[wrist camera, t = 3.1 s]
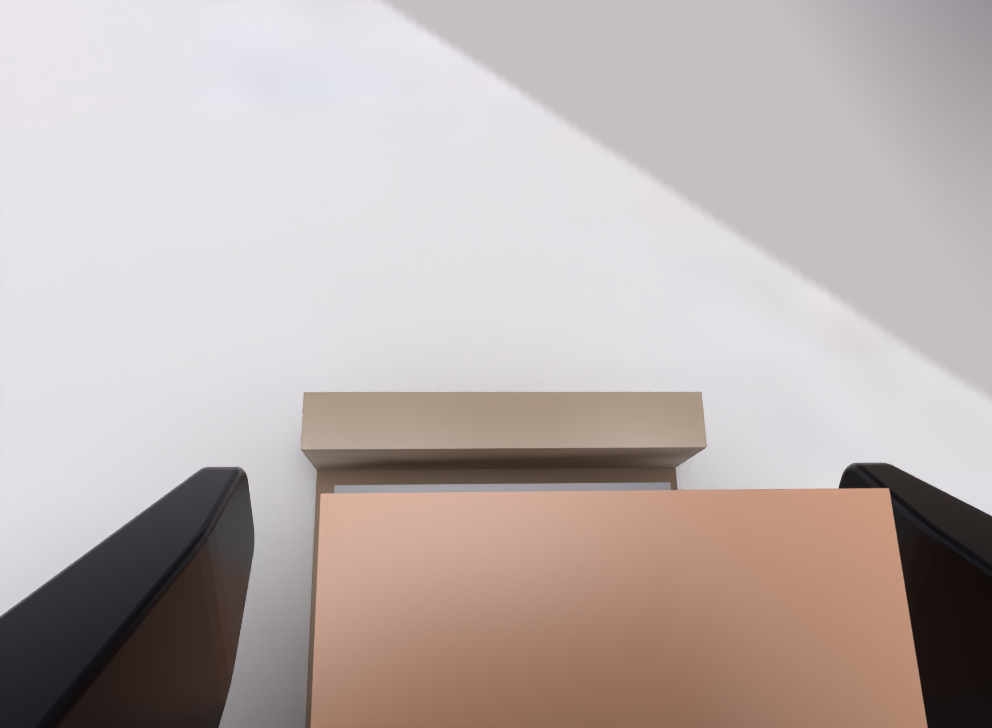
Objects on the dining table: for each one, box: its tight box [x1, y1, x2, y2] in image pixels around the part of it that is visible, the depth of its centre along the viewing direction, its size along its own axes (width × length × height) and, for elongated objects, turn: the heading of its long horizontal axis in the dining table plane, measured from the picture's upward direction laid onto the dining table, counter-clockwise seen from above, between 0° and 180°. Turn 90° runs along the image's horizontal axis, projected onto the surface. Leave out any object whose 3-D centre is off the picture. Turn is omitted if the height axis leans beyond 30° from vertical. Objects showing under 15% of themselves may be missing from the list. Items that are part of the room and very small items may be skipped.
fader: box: [311, 482, 928, 728], centre depth 10 cm, size 5×6×10 cm
